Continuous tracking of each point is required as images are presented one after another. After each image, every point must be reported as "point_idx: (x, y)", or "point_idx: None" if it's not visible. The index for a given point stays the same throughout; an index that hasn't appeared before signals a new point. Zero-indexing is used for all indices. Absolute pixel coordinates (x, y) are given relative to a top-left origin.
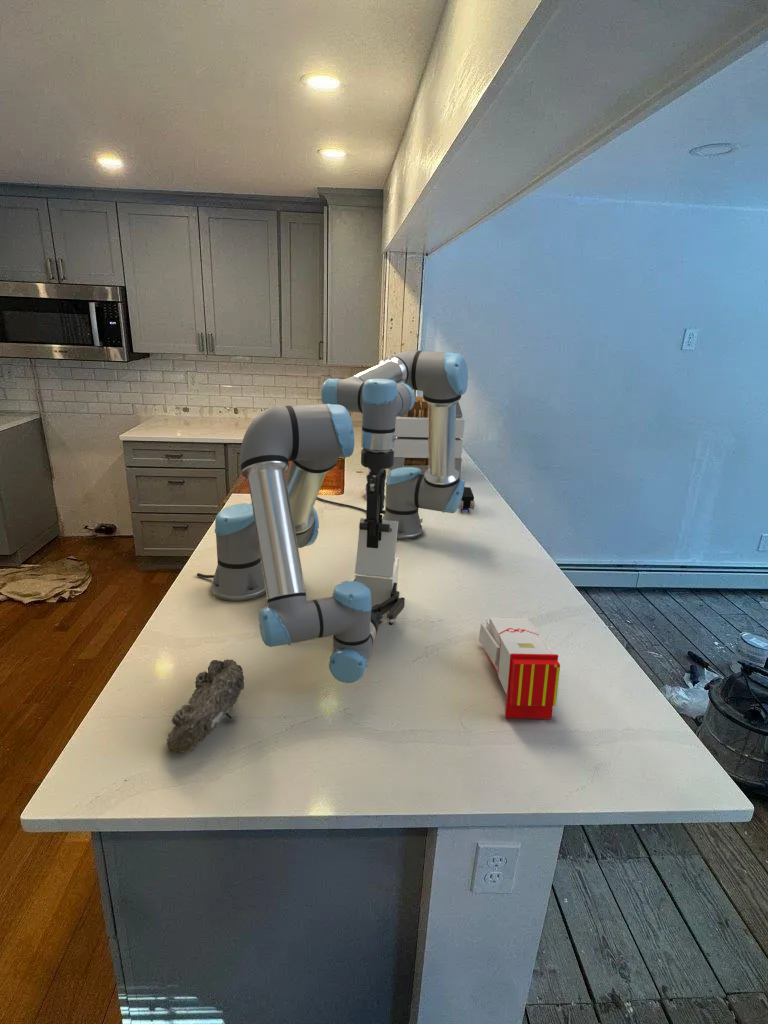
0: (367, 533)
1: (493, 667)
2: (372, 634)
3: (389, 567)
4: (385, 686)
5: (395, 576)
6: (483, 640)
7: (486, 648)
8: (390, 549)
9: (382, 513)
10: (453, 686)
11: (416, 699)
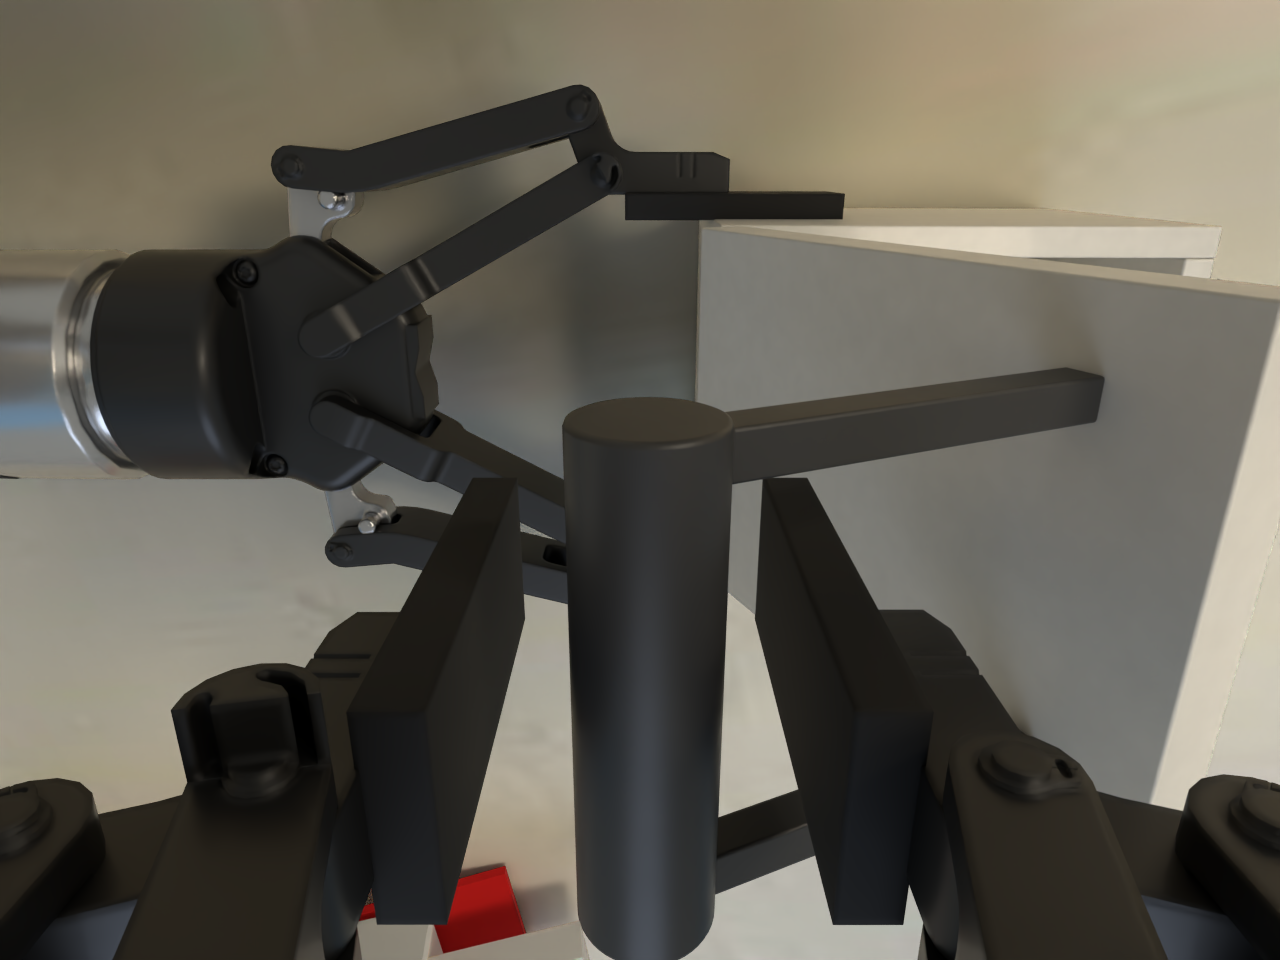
0: (423, 581)
1: None
2: (35, 477)
3: (733, 564)
4: (53, 497)
5: None
6: (364, 949)
7: None
8: None
9: (920, 951)
10: (179, 761)
11: (26, 632)
